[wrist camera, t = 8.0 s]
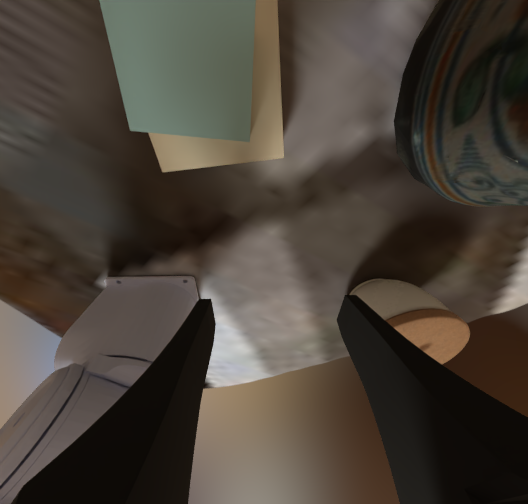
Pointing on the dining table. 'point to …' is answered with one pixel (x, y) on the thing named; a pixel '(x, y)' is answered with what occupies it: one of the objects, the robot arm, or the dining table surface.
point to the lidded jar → (416, 316)
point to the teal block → (184, 65)
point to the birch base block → (262, 111)
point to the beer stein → (468, 103)
